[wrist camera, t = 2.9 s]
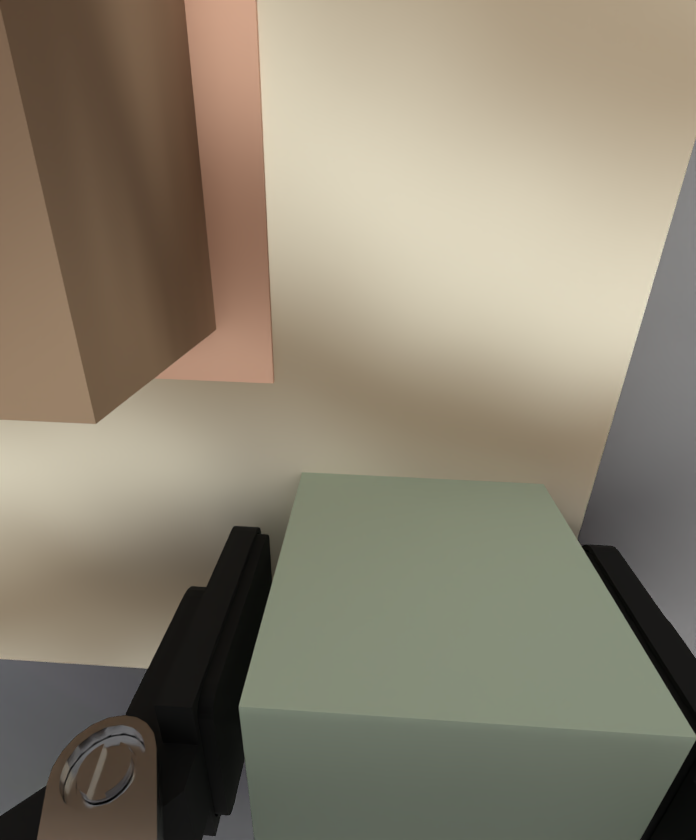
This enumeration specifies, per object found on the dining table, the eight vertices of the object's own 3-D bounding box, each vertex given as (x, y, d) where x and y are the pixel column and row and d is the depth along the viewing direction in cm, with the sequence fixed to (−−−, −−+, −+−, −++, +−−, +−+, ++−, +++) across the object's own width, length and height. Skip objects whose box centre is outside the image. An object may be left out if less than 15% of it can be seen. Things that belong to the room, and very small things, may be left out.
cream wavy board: (520, 659, 13) (532, 697, 12) (9, 627, 14) (-20, 661, 13) (763, -247, 6) (840, -338, 5) (-338, -237, 6) (-467, -316, 5)
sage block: (503, 652, 12) (585, 936, 7) (305, 640, 12) (262, 909, 7) (543, 483, 10) (696, 738, 5) (301, 472, 10) (238, 705, 5)
